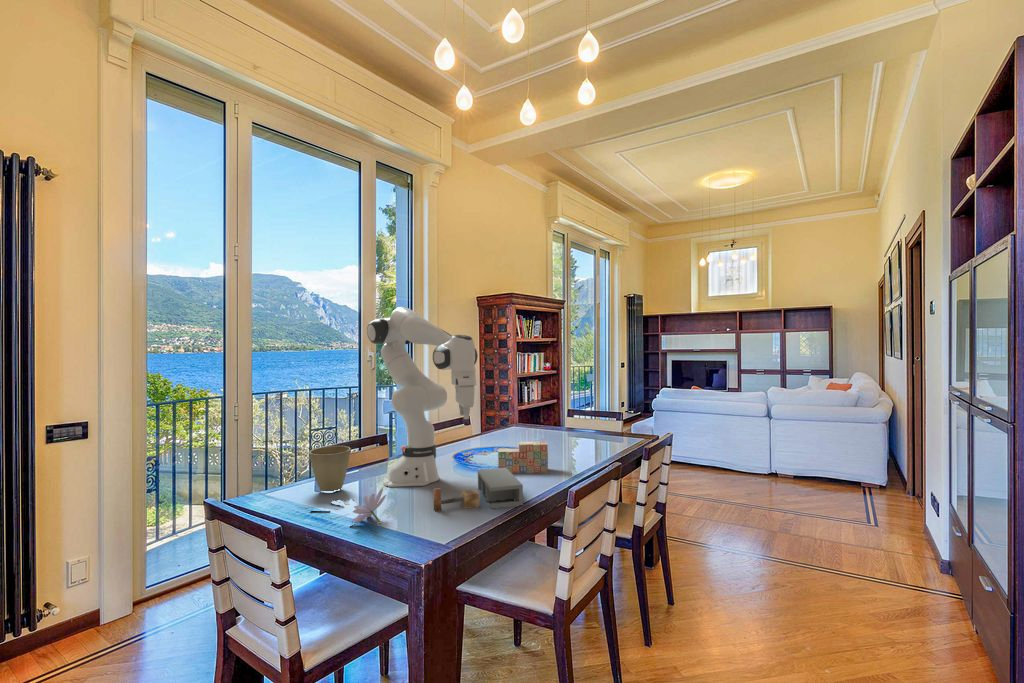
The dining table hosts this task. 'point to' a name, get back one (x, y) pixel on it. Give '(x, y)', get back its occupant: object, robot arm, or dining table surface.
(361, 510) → the water lily
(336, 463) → the plant pot
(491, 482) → the shelf
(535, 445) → the stack of blocks
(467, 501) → the toy hammer
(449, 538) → the dining table surface
